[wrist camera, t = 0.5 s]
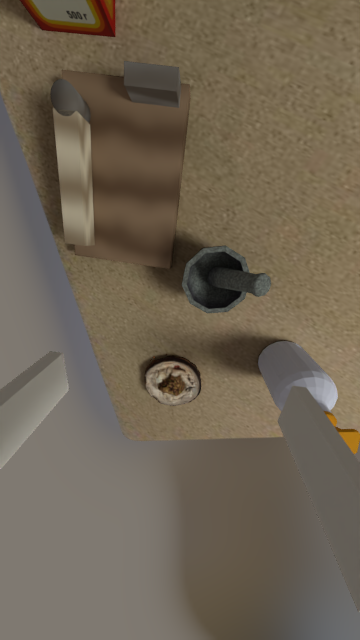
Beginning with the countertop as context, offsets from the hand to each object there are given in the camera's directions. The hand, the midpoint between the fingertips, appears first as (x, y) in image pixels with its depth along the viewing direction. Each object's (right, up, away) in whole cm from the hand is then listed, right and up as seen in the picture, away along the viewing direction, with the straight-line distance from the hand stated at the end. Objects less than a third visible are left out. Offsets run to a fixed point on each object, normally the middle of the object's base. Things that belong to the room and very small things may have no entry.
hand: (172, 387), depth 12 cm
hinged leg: (-14, +24, +17) cm, 33 cm away
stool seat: (-8, +25, +19) cm, 32 cm away
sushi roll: (-1, -9, +33) cm, 34 cm away
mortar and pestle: (+7, +12, +23) cm, 27 cm away
